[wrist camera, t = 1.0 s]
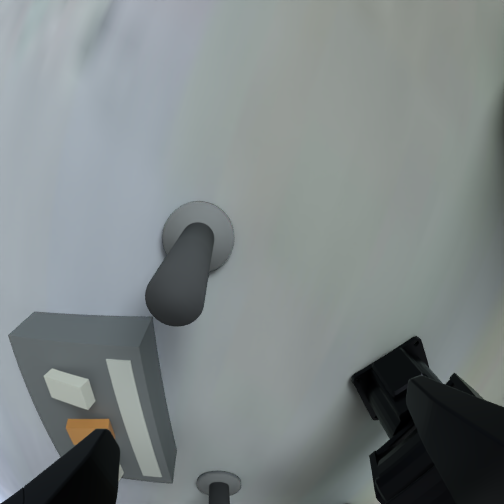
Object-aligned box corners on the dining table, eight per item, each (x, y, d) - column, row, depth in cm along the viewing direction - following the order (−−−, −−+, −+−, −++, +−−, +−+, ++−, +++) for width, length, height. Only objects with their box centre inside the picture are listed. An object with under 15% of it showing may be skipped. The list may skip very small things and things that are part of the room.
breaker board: (152, 317, 21) (138, 347, 17) (176, 450, 25) (172, 484, 21) (34, 311, 21) (7, 335, 17) (78, 439, 24) (66, 468, 20)
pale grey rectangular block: (88, 379, 17) (80, 387, 16) (95, 400, 17) (88, 410, 16) (52, 368, 17) (43, 375, 16) (59, 389, 18) (51, 397, 17)
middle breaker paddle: (109, 418, 19) (108, 428, 18) (115, 435, 19) (114, 445, 18) (67, 418, 18) (65, 427, 17) (75, 435, 18) (73, 445, 17)
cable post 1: (247, 248, 21) (265, 320, 11) (188, 282, 21) (161, 372, 11) (210, 187, 19) (194, 207, 10) (151, 224, 20) (88, 276, 10)
